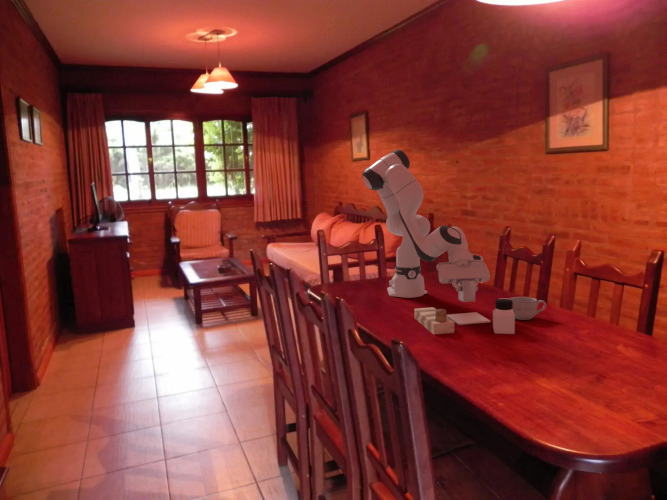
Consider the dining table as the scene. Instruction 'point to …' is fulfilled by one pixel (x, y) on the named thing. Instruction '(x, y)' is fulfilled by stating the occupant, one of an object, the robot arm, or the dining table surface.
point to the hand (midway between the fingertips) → (467, 290)
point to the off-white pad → (468, 318)
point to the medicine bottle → (504, 317)
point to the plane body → (434, 320)
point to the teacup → (526, 307)
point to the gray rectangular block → (467, 290)
